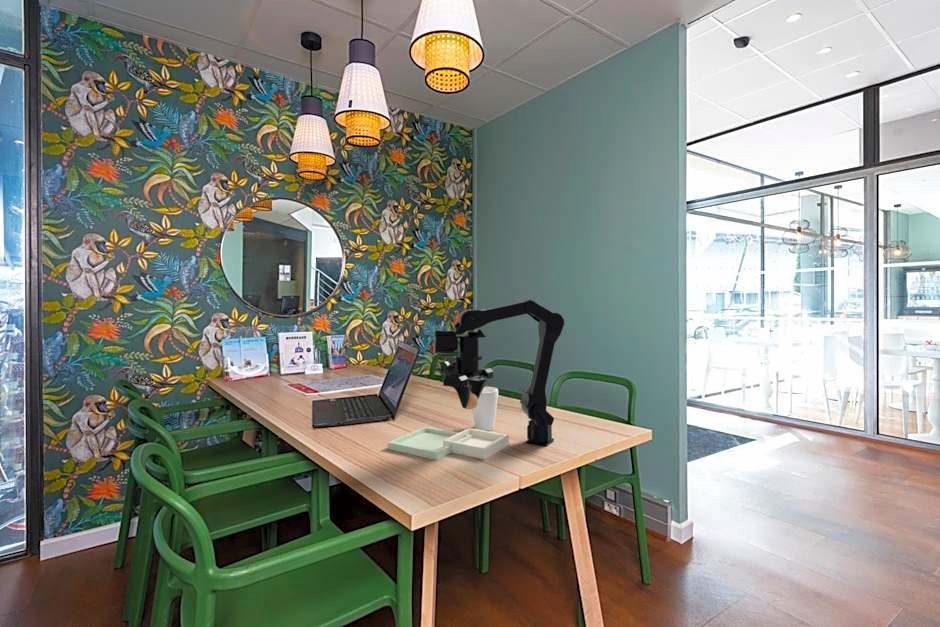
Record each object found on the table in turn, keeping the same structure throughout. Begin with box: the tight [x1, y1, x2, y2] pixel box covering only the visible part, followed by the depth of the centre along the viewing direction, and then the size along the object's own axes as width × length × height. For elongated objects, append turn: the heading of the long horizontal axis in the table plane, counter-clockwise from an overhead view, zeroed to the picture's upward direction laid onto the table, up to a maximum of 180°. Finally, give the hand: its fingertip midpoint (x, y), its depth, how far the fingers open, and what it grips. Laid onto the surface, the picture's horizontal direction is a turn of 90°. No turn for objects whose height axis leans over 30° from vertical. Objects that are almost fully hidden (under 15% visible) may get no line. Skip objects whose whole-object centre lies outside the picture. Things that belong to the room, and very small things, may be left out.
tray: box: [387, 426, 472, 461], centre depth 135 cm, size 18×18×2 cm
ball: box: [464, 392, 478, 411], centre depth 132 cm, size 5×5×5 cm
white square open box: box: [443, 427, 510, 460], centre depth 132 cm, size 14×14×3 cm
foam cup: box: [471, 386, 499, 431], centre depth 151 cm, size 10×9×13 cm
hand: (469, 406), depth 132 cm, fingers closed on ball, 5 cm apart
